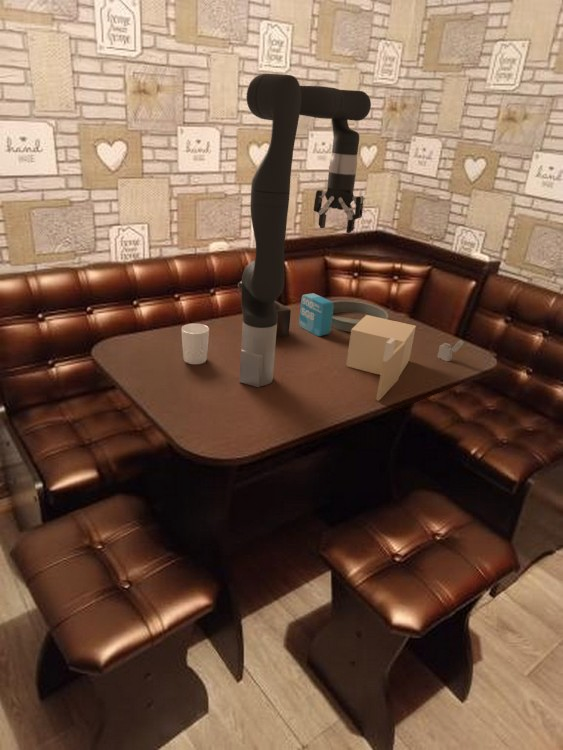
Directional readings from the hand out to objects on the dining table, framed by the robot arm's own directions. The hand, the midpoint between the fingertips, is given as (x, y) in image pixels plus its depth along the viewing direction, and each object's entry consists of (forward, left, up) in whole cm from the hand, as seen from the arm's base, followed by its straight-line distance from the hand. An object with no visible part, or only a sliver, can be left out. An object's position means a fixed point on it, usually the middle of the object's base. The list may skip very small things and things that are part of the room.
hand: (335, 230), depth 157 cm
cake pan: (+31, -1, -39) cm, 50 cm away
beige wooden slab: (-16, -26, -38) cm, 49 cm away
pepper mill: (+1, +22, -38) cm, 44 cm away
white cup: (-29, +29, -38) cm, 56 cm away
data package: (+14, +8, -38) cm, 42 cm away
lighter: (+16, -38, -38) cm, 56 cm away
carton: (0, -19, -38) cm, 43 cm away
